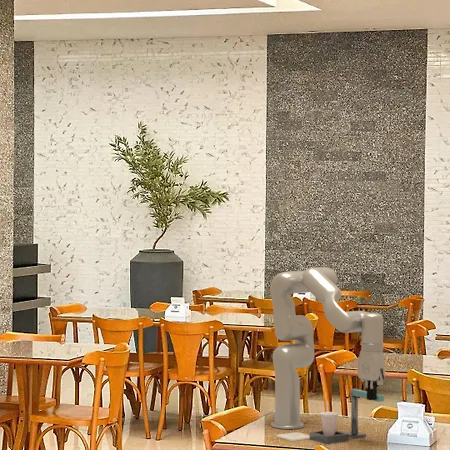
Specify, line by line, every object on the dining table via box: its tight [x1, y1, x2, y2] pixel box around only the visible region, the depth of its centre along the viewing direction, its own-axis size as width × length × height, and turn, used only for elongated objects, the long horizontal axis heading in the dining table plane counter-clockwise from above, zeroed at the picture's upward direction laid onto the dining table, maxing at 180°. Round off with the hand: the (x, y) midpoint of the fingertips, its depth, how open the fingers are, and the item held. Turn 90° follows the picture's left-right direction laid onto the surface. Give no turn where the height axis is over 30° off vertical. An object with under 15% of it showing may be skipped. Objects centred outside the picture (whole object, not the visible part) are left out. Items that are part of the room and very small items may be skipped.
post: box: [346, 394, 367, 439], centre depth 370 cm, size 6×6×15 cm
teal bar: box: [350, 388, 385, 403], centre depth 364 cm, size 18×3×2 cm, turn 29°
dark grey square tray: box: [309, 429, 349, 445], centre depth 364 cm, size 10×10×2 cm
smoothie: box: [320, 400, 339, 436], centre depth 364 cm, size 6×6×14 cm
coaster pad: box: [275, 431, 311, 442], centre depth 368 cm, size 10×10×1 cm
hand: (371, 399), depth 356 cm, fingers closed
